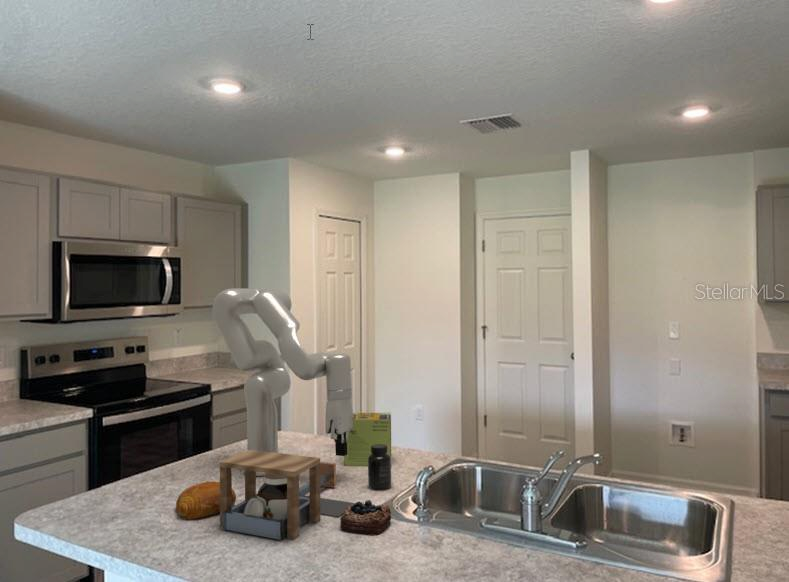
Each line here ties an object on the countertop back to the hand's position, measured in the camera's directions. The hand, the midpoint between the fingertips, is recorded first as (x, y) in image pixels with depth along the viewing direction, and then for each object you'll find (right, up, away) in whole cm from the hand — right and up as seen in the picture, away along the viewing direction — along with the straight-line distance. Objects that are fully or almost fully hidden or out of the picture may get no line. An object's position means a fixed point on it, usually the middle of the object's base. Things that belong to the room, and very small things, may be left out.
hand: (341, 455), depth 180 cm
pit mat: (-8, -8, -20) cm, 23 cm away
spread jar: (-15, -8, -33) cm, 37 cm away
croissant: (-34, -8, -23) cm, 42 cm away
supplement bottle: (+12, -8, -6) cm, 15 cm away
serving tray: (-11, -7, -23) cm, 26 cm away
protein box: (+7, -8, +20) cm, 22 cm away
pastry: (+9, -8, -34) cm, 36 cm away
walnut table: (-15, -8, -33) cm, 37 cm away
